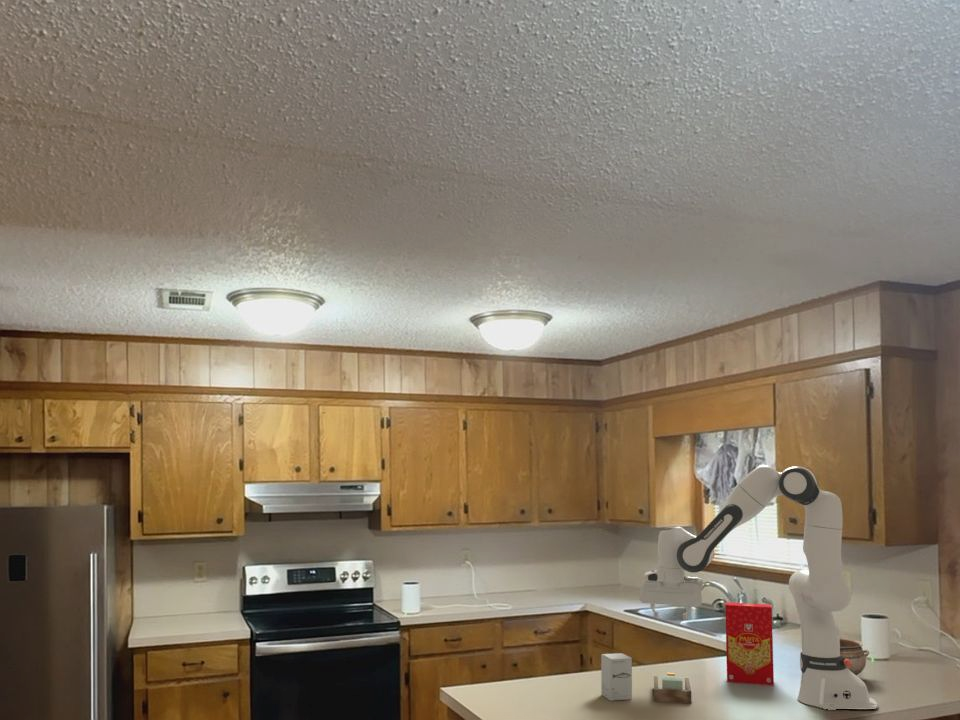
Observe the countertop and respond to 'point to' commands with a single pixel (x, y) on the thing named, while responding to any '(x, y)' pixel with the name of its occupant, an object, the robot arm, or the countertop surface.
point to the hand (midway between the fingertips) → (670, 618)
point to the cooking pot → (853, 654)
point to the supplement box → (616, 676)
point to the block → (672, 681)
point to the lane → (672, 693)
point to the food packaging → (749, 643)
